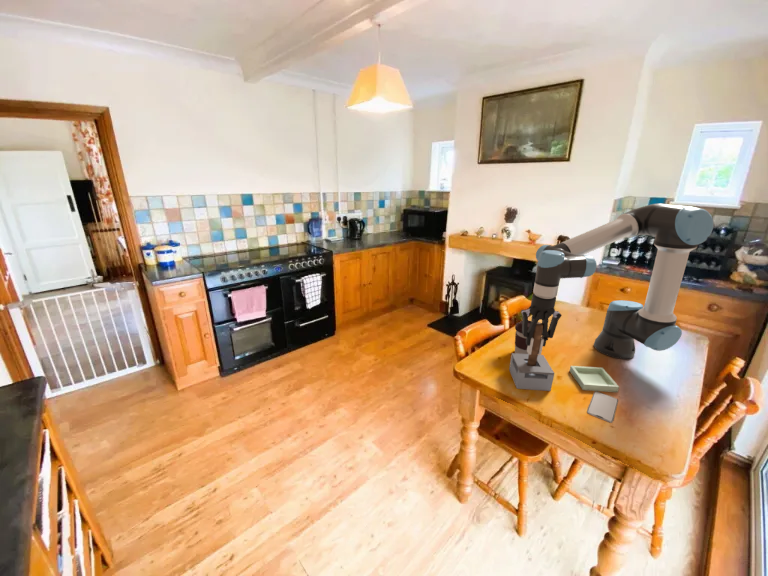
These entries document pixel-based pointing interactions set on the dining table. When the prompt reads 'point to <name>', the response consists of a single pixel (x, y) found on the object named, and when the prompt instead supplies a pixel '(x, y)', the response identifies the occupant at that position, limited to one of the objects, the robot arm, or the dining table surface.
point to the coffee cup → (520, 339)
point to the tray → (593, 379)
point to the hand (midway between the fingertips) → (533, 352)
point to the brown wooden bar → (535, 344)
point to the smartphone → (603, 406)
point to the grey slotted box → (531, 373)
